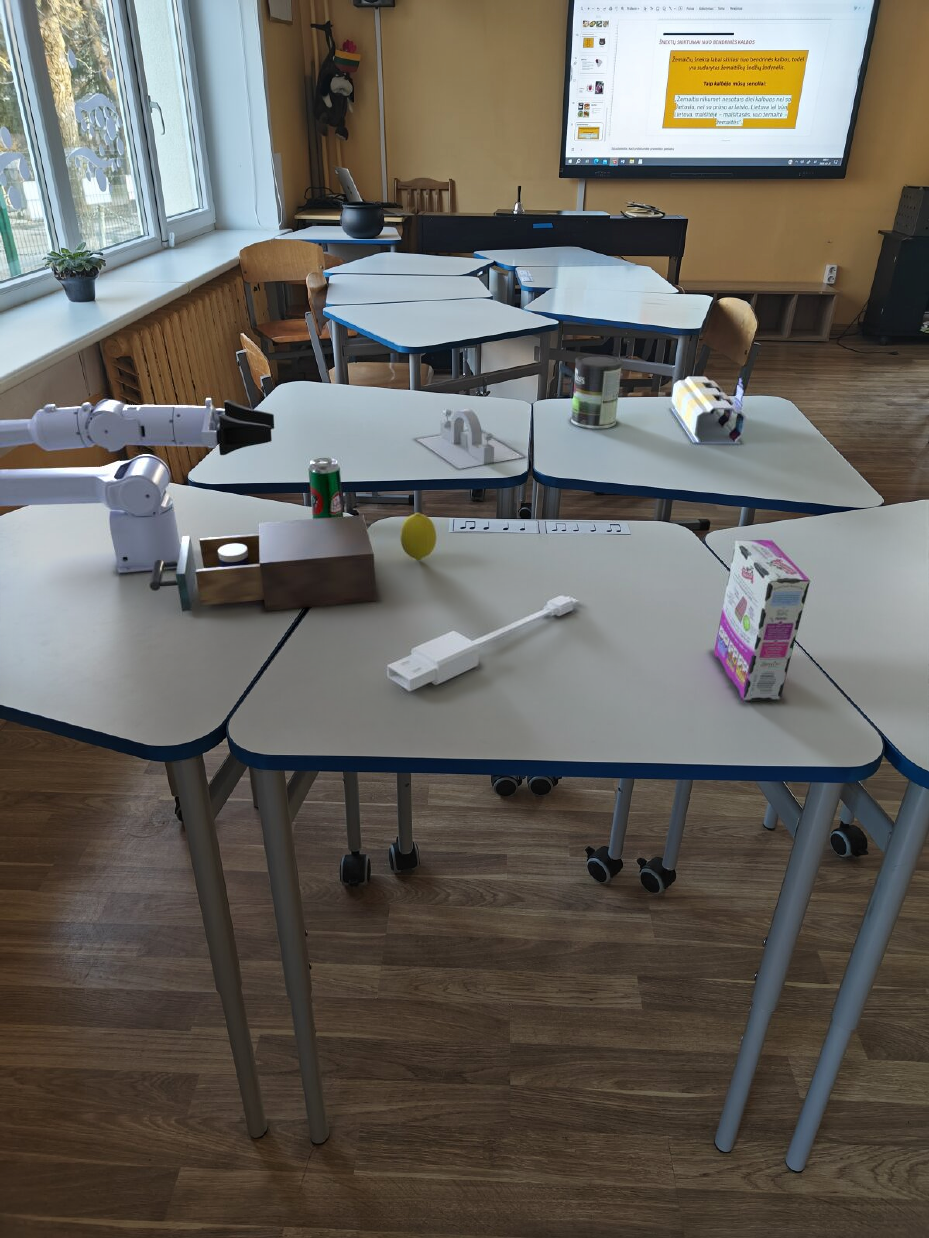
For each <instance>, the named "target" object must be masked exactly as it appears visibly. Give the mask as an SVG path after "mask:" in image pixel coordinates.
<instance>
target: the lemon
mask: <svg viewBox="0 0 929 1238" xmlns="http://www.w3.org/2000/svg"><path fill="white" fill-rule="evenodd" d="M434 524H435V523H434V522H433V521H432V519H430V518H429V516H427V515H425V514H422V513H421V512H415V513H414V514H411V515H409V516H408V517H407V518H405V520H404V521H403V523H402V525H401V529H400V544H401V547H402V549H403V551H404V553H406V554H407V555H408V556H409V557H411V558H412V559H413V558H414V559H415V560H416V561H422V559H424V558H427V557H428V556H430V554H431V553H433V551H434V549H435V547H436V542H437V531H436V527H435V525H434Z"/></svg>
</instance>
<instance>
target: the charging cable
mask: <svg viewBox="0 0 929 1238" xmlns="http://www.w3.org/2000/svg"><path fill="white" fill-rule="evenodd" d="M578 602H579V600H578V599H576V598H573V597H572V596H569V595H568V596H565V595H562V594H561V595H559V596H557V597H554V598H552V599H550V600H548V601H547V602H546V605H543V609H541V610H538V611H537V612H534V613H532V614H530V615H528V616H525V617H522V618H521V619H519V620H516V621H514V622H512V623H509V624H508V625H505V626H502V627H500V628H498V629H497V630H494V631H491V632H490V633H487V634H485V635H483V636H481V637H479V638H476V639H473V640H471V639H469V638H468V637H466V636H464V635H462V634H460V633H459V632H457V631H455V630H452V631H450V632H448V633H444V634H443V635H440V636H437V637H436V638H433V639H430V640H427V641H426V642H423V643H421V644H419V645H417V646H415V647H413V648H411V654H410V655H408V656H405V657H403V658H401V659H399V660H397V661H394V662H391V663H389V664H387V665H386V677H388V678H389V679H390V680H392V681H393V682H395V683H396V684H398V686H401V687H402V688H404V690H407V691H408V692H412V691H414V690H416V689H418V688H421V687H422V686H425V685H427V684H429V683H432V684H433V685H434V686H438V685H439V684H441V683H443V682H444V683H445V682H446V681H448V680H450V679H453V678H454V677H457V676H459V675H461V674H462V673H464V672H467V671H469V670H471V669H473V668H476V667H478V665H479V652H480V646H483V645H484V644H487V643H489V642H491V641H493V640H495V639H498V638H500V637H502V636H504V635H506V634H510V633H511V632H513V631H515V630H518V629H521V628H522V627H524V626H526V625H528V624H531V623H533V622H535V621H538V620H539V619H542V618H544V617H546V616H548V615H549V616H551V617H552V616H557V617H561V616H563V615H565V614H567V613H569V612H572V611H574V605H575V604H577V603H578Z"/></svg>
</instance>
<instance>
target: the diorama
mask: <svg viewBox="0 0 929 1238" xmlns="http://www.w3.org/2000/svg"><path fill="white" fill-rule="evenodd" d="M736 385H737V386H736V394H735V395H734V396H735V397H734V401H733V400H732V399H731V398H730V397H729V396H728V395H727V394H726V393H725V392H724V391H723V389H722V388H721V387H720V386H719V384H718V383H716V381H714V380H709V379H708V377H706V376H693V375H692V376H689V375H688V376H687V377H686V378H685V379H679V380H678V381H676V382H675V383H673V387H672V388H673V389H672V395H671V402H672V404H673V405H674V407H671V411H672V412H673V414H674V415H675V417H676V418H677V420H678V421H679V423H680V424H681V426H682V428H683V429H684V430H685V432H686V434H687V435H688V437H689V438H690V440H691V441H692V443H693V444H713V445H714V444H719V445H720V444H721V445H722V444H724V445H730V444H731V445H740V444H741V442H740V438H741V437H743V434H744V429H745V423H746V419H747V416H746V415H745V414H744V413H743V411H742V407H743V402H744V401H743V397H744V394H745V390H744V385H743V379H742V377H740V378H739V379H738V384H736ZM718 410H723V413H722V414H721V415H719V414H718V413H717V412H718ZM733 414H734V415H736V418H735V425H734V428H733V429H732V430H731V429H730V427H729V426H727V425H728V424H729V423H730V422H731V420H732V416H733Z"/></svg>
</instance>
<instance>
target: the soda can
mask: <svg viewBox="0 0 929 1238" xmlns="http://www.w3.org/2000/svg"><path fill="white" fill-rule="evenodd" d="M308 478H309V490H310V502H311V516H312V519H319V518H332V517H344V505H343V493H342V479H341V467H340V465H339V464H338V460H336V459H335V458H331V457H318V458H315V459H312V460H311V461H310V465H309V467H308Z"/></svg>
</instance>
